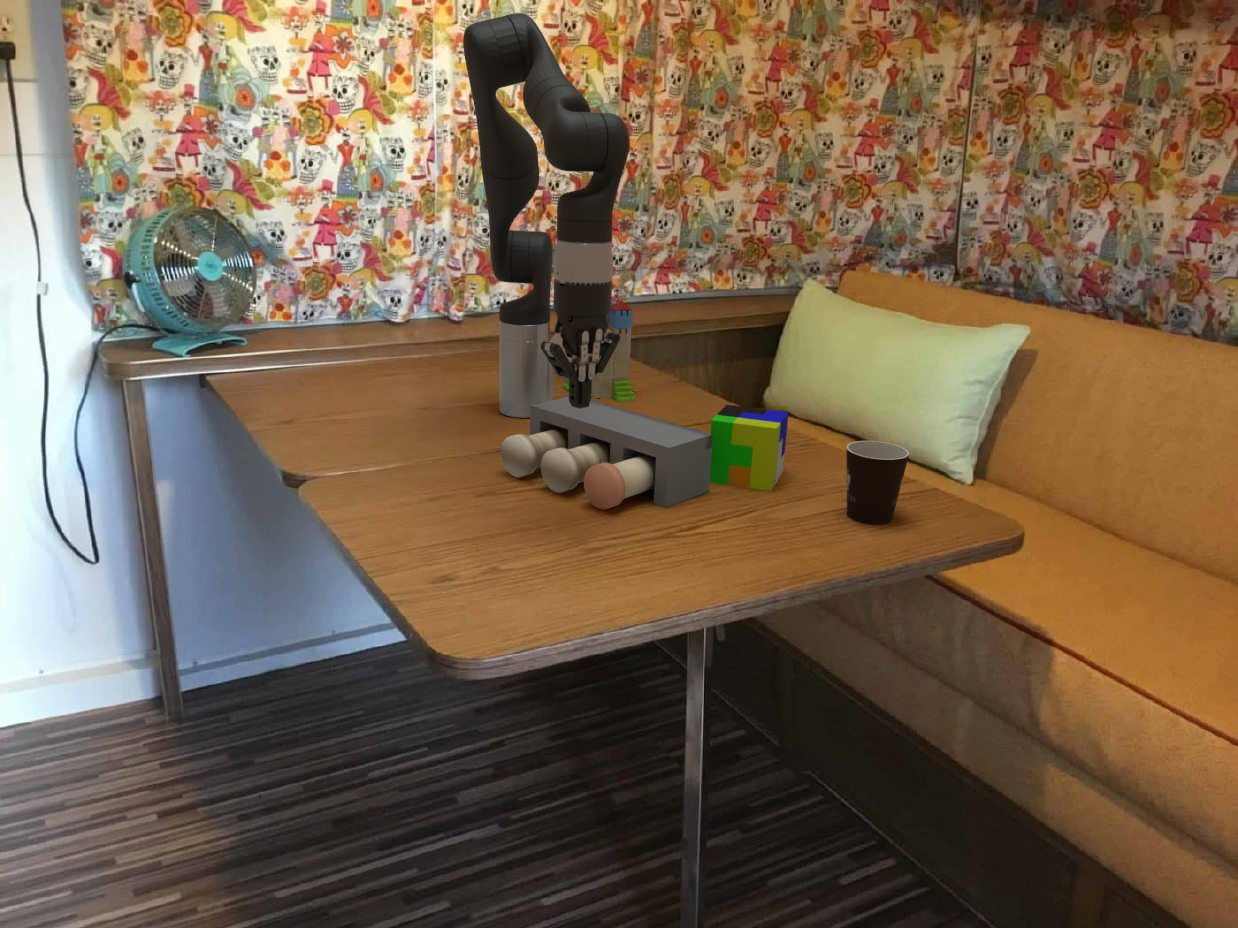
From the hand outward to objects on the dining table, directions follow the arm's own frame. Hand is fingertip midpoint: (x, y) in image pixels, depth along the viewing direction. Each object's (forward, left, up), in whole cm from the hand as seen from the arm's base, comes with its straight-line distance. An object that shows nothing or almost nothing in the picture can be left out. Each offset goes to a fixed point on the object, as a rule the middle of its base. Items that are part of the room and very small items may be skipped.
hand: (579, 406), depth 137 cm
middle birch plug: (-9, -9, -16) cm, 20 cm away
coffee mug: (-34, +27, -16) cm, 46 cm away
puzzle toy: (-33, +5, -16) cm, 37 cm away
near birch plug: (-9, -18, -16) cm, 26 cm away
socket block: (-18, -9, -16) cm, 25 cm away
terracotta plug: (-9, 0, -16) cm, 18 cm away
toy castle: (-56, -51, -16) cm, 77 cm away
